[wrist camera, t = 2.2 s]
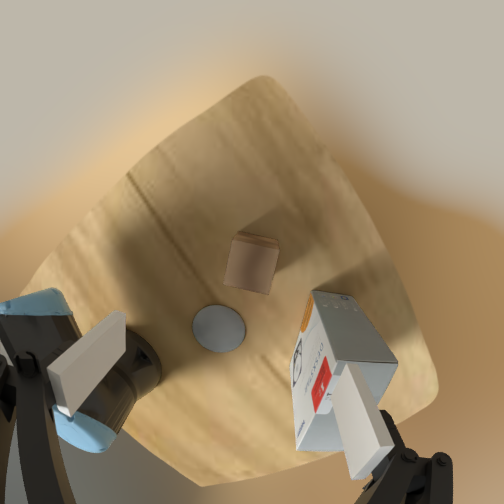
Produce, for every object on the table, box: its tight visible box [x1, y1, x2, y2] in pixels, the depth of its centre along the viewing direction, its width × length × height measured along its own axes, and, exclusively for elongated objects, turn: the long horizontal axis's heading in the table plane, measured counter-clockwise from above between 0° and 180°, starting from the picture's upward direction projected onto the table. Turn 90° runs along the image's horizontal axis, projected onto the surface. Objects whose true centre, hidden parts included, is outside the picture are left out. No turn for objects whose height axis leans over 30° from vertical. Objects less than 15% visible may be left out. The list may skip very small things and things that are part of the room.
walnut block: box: [223, 231, 280, 295], centre depth 39 cm, size 6×6×8 cm
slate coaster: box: [192, 305, 245, 352], centre depth 45 cm, size 9×9×1 cm
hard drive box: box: [290, 290, 398, 451], centre depth 35 cm, size 16×8×20 cm, turn 170°
